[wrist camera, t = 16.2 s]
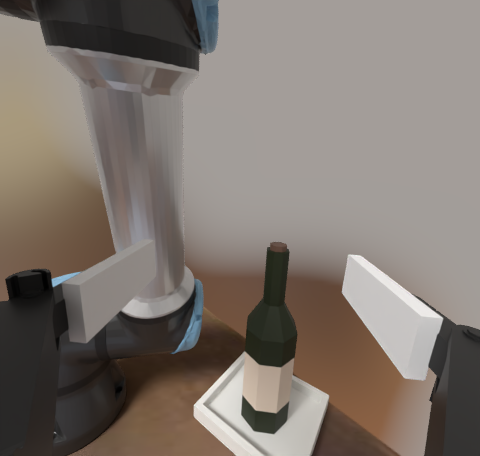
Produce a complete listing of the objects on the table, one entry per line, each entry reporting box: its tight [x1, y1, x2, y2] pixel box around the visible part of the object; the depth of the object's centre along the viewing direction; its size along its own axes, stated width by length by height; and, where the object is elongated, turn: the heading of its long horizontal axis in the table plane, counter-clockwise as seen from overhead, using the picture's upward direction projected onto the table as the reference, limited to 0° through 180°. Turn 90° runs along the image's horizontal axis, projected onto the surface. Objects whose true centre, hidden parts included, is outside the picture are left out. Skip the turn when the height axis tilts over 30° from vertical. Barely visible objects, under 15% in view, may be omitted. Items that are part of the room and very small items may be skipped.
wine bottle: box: [241, 242, 297, 434], centre depth 36 cm, size 8×8×30 cm
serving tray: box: [194, 351, 329, 456], centre depth 39 cm, size 18×16×2 cm
